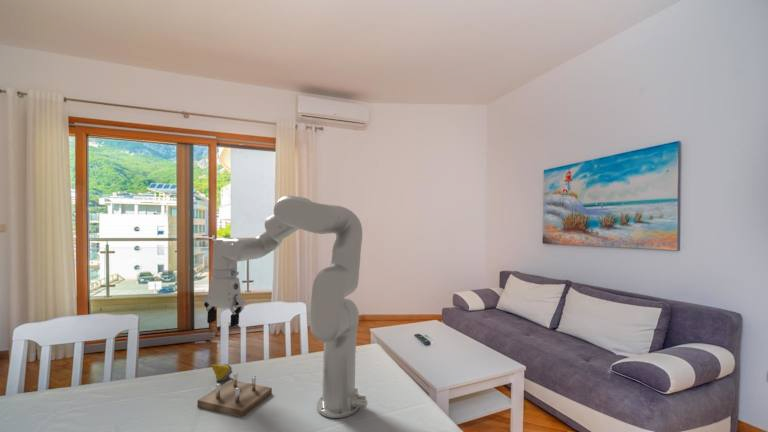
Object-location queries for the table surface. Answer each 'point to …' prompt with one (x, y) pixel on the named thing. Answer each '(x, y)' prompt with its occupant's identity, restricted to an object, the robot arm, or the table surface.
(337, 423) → the table surface
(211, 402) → the peg board
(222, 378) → the olive yellow block
